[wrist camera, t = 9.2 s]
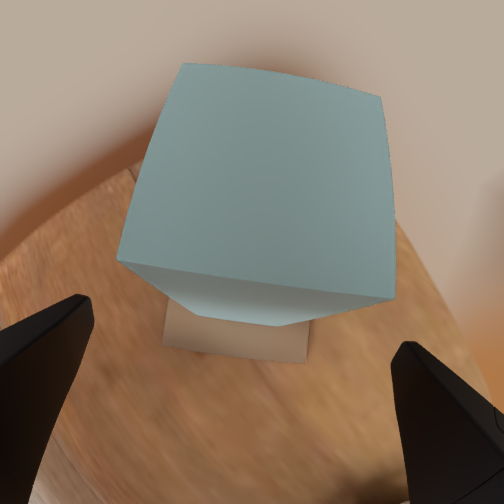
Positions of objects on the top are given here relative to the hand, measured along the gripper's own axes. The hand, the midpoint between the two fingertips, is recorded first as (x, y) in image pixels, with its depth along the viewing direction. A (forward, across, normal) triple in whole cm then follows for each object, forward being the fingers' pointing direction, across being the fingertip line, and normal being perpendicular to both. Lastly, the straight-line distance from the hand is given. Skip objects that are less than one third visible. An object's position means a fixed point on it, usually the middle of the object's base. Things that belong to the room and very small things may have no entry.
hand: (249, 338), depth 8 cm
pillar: (+10, 0, +5) cm, 11 cm away
